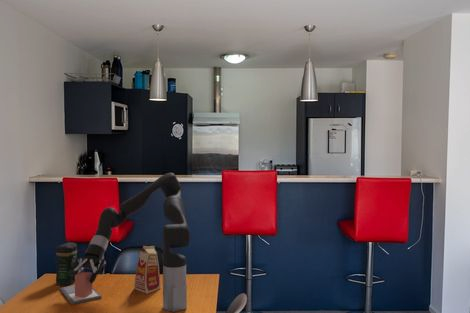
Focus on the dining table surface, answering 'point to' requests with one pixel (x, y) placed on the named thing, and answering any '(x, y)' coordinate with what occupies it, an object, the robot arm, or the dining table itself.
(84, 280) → the pink rectangular block
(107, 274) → the dining table surface
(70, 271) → the coffee jar
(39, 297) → the dining table surface
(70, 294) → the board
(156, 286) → the milk carton
